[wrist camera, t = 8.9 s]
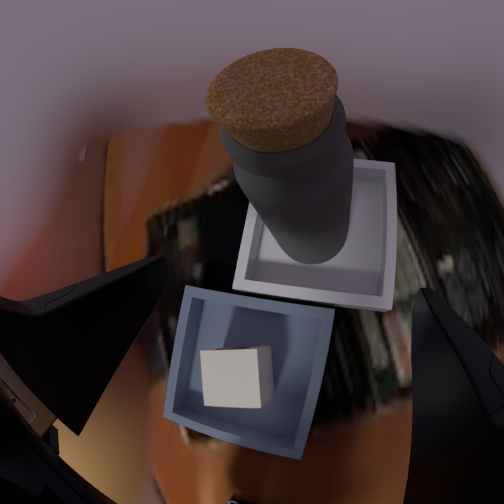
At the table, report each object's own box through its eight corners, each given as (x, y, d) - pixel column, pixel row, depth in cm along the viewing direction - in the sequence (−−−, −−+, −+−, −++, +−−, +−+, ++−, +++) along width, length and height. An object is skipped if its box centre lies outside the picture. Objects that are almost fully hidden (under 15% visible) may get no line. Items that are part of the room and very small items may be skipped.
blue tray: (304, 446, 17) (300, 459, 15) (178, 410, 21) (163, 416, 19) (334, 311, 20) (335, 309, 18) (199, 289, 24) (185, 285, 21)
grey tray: (385, 311, 19) (391, 309, 16) (242, 292, 22) (232, 288, 20) (390, 178, 21) (394, 162, 19) (266, 170, 25) (259, 155, 23)
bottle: (276, 201, 23) (200, 59, 9) (343, 195, 22) (334, 33, 8) (277, 268, 22) (177, 160, 8) (351, 262, 20) (375, 130, 6)
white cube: (274, 394, 19) (261, 408, 15) (226, 394, 20) (204, 405, 16) (270, 344, 20) (256, 347, 16) (222, 346, 21) (200, 349, 17)
